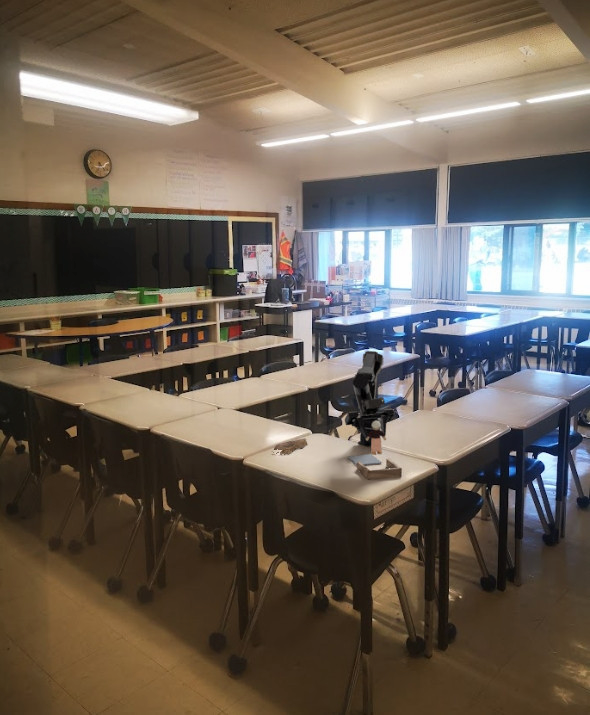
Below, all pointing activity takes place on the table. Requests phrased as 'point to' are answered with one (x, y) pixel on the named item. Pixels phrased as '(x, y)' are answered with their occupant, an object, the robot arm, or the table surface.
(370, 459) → the slate mat
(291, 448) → the wooden fragment
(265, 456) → the table surface
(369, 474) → the walnut stall
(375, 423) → the grandmother figurine
